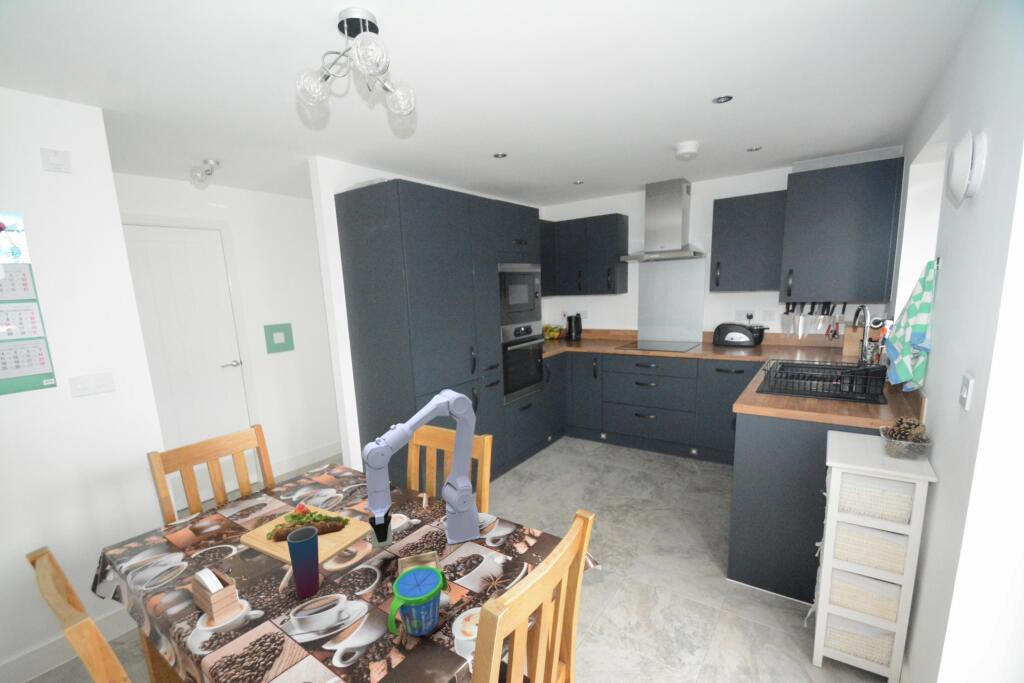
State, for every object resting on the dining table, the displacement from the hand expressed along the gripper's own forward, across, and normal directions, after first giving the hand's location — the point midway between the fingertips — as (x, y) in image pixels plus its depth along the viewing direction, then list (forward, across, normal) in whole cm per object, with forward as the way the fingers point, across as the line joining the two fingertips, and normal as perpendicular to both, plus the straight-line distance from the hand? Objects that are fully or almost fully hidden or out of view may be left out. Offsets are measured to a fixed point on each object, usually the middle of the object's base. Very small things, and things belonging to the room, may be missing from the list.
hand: (382, 535), depth 111 cm
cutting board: (+9, -24, -23) cm, 35 cm away
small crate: (+2, 0, 0) cm, 2 cm away
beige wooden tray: (+8, +9, +9) cm, 15 cm away
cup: (+8, +4, -18) cm, 21 cm away
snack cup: (+9, +25, +8) cm, 27 cm away
